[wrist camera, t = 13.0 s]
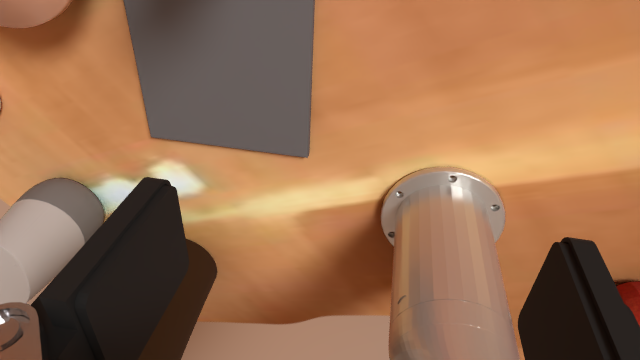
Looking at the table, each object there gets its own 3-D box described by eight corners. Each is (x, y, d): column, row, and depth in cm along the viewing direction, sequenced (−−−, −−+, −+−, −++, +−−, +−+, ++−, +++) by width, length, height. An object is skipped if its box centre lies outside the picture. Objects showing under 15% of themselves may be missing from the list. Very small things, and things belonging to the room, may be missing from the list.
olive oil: (201, 227, 55) (77, 435, 35) (234, 286, 60) (143, 496, 40) (131, 236, 58) (-20, 432, 38) (168, 292, 64) (54, 489, 43)
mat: (309, 153, 46) (307, 157, 45) (154, 133, 48) (151, 136, 47) (315, -24, 36) (313, -22, 36) (120, -40, 38) (115, -39, 38)
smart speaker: (67, 157, 52) (-29, 237, 41) (126, 211, 56) (53, 298, 44) (28, 190, 57) (-69, 270, 45) (85, 238, 60) (8, 324, 49)
